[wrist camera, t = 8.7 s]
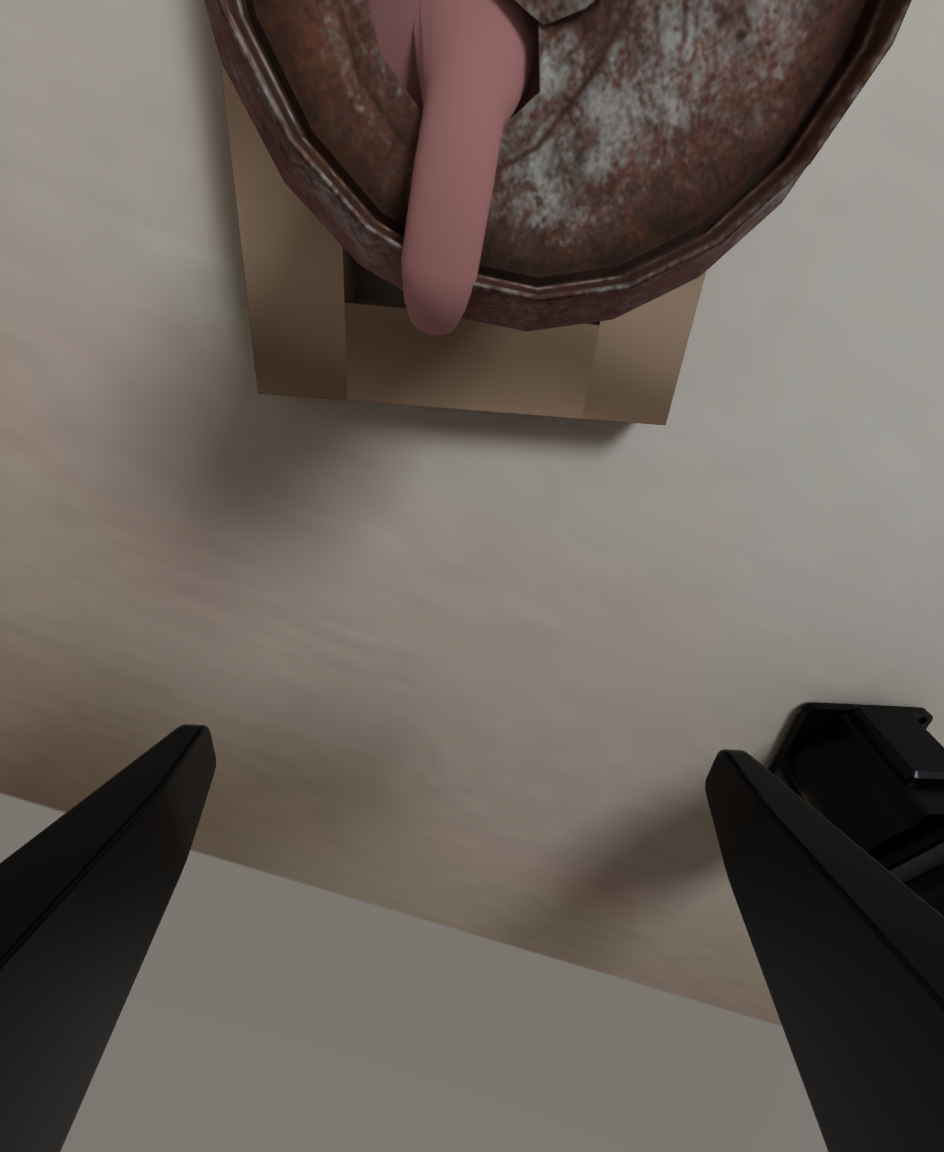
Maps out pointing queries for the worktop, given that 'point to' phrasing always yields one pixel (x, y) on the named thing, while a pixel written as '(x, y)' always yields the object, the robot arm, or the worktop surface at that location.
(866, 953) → the robot arm
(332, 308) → the socket block
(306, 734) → the worktop surface
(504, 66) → the can
